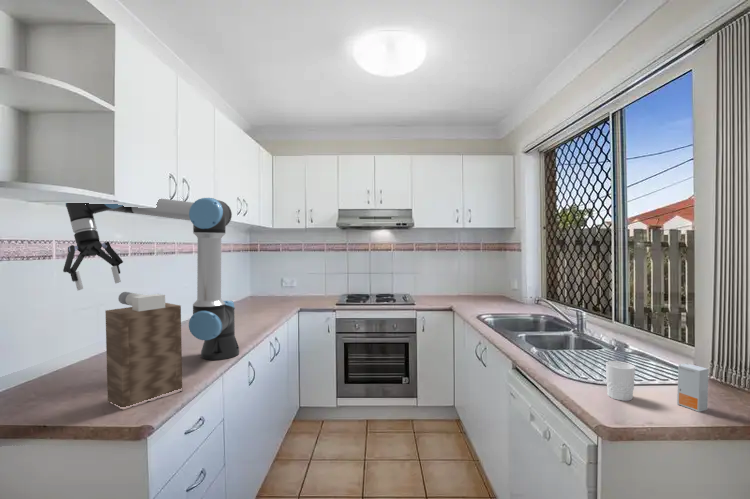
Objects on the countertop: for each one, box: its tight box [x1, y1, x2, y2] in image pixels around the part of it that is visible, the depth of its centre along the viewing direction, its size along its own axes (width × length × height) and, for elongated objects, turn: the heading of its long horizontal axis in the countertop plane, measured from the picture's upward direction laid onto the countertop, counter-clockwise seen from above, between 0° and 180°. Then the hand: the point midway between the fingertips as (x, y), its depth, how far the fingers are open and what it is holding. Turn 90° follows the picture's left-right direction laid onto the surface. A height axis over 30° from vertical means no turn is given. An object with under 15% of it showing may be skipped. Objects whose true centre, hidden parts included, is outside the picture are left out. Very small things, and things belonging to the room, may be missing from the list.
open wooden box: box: [105, 302, 183, 407], centre depth 132 cm, size 18×10×28 cm, turn 144°
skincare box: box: [676, 362, 710, 413], centre depth 123 cm, size 6×4×12 cm
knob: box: [118, 291, 166, 311], centre depth 134 cm, size 18×8×4 cm, turn 54°
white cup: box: [605, 360, 636, 402], centre depth 131 cm, size 8×8×10 cm
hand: (100, 286), depth 160 cm, fingers open, 13 cm apart
